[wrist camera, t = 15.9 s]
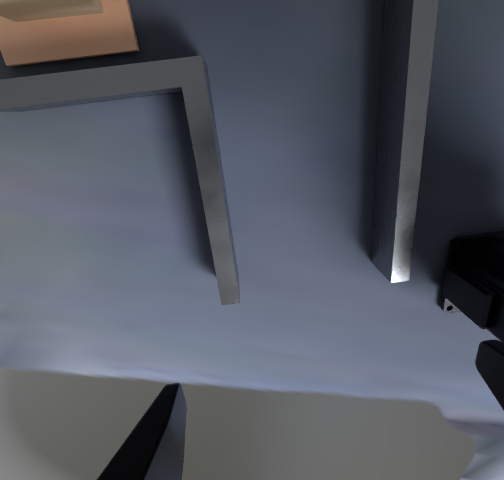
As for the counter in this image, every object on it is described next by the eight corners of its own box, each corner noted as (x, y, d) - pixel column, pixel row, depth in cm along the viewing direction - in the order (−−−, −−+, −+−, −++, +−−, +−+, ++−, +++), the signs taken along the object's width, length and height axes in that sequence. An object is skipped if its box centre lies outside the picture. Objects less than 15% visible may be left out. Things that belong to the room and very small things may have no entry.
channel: (425, -271, 13) (478, -376, 10) (387, 259, 23) (409, 280, 20) (-107, -215, 12) (-204, -308, 10) (90, 298, 22) (71, 325, 20)
